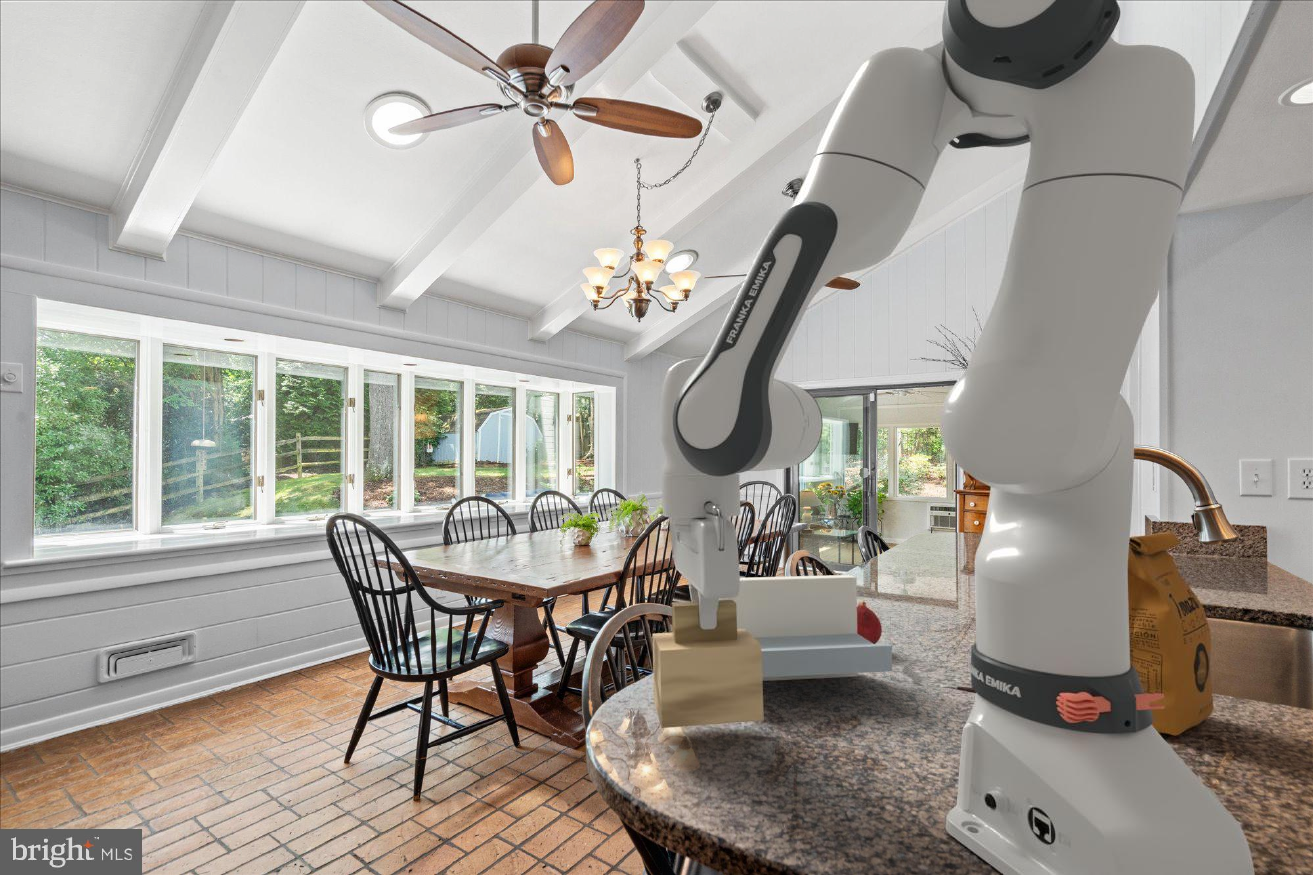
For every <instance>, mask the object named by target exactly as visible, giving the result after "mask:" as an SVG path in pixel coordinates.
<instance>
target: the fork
mask: <svg viewBox="0 0 1313 875" xmlns="http://www.w3.org/2000/svg"><path fill="white" fill-rule="evenodd" d="M902 672H903V674H905V675H906V676H908V677H909V678H910V679H911V680H913V681H914V682H916V683H917V684H918V685H920V686H922V687H927V685H928V683H929V680H927V679H925V678H923V677H922V676H920V675H919V674H917V672H914V671H913V670H912V669H910V668H909V667H908V666H907V665H904V668H902ZM939 687H940V688H941V689H942V688H946V689H949V688H950V689H955V690H959V691H964V692H969V693H974V694H976V692H975V691H974V689H973V688H972V687H968V686H959V685H958V686H957V685H947V684H939Z"/></svg>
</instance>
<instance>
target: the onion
mask: <svg viewBox="0 0 1313 875" xmlns="http://www.w3.org/2000/svg"><path fill="white" fill-rule="evenodd" d="M882 629H883V626H882V622H881V621H880V618H879V617H878V615H876V613H875V612H874V611H873V610H872V609H871V608H869V607H867V602H865V601H864V600H861V601H858V604H857V634H858V635H860V636H862V637H863V638H865V639H867V640H868V641H870V642H871V643H873V644H878V642H879V640H880V639H881V637H882V632H883V630H882Z"/></svg>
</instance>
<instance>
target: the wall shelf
mask: <svg viewBox="0 0 1313 875" xmlns="http://www.w3.org/2000/svg"><path fill="white" fill-rule="evenodd" d="M857 583H858V582H857V576H854V575H851V574H836V575H835V574H833V575H831V574H829V575H801V576H800V575H799V576H796V575H795V576H793V575H791V576H763V577H762V576H761V577H757V576H756V577H755V576H754V577H740V588H739V593H738V595H737V597H734V598H719V600H733V601H734V602H735V603H736V609H737V629H745V630H746V631H747V632H748V633H749V634H751V635H752V636H753V637H754V638H755V639H756V640H757V641H758V642H759V643H760V644H761V652H762V682H764V681H765V682H767V681H789V680H804V679H805V680H806V679H807V680H808V679H827V678H828V679H829V678H848V677H850V678H851V677H858V676H859V674H861V673H862V674H863V673H882V672H884V673H885V672H893V645H891V644H890V643H876V644H873V643H871V642H870V641H868V640H867V639H865V638H863V637H862V636H860V635H858V634H857V607H858V602H857V601H858V597H857V596H858V594H857V593H858V592H857V586H858V585H857ZM858 673H859V674H858Z"/></svg>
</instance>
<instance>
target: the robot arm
mask: <svg viewBox="0 0 1313 875" xmlns="http://www.w3.org/2000/svg"><path fill="white" fill-rule="evenodd" d="M1120 18H1121V8H1120V6H1119V3H1118V1H1117V0H945V3H944V9H943V15H942V24H941V34H942V40H941V41H940V42H939V43H936V44H935V45H933V46H930V47H926V48H923V49H918V48H914V47H910V46H909V47H908V46H907V47H906V46H905V47H904V46H902V47H898V46H897V47H891V48H887V49H883V50H881V51H878V52H877V53H875V54H873V55H871V56H870V57H868V58H867V59H866V60H864V62H863V63H862V64H861V65H860V67H859V68H858V69H857V70H856V73H855V74H854V76H853V77H852V80H850V82H849V84H848V85H847V87H846V89H845V91H844V92H843V94H842V96H841V98H840V100H839V102H838V103H837V105H836V107H835V109H834V110H833V113H832V115H831V117H830V118H829V119H830V120H829V121H828V124H827V126H826V128H825V130H824V133H823V135H822V137H821V139H820V141H819V144H818V147H817V148H816V151H815V153H814V156H813V159H812V161H811V163H810V167H809V169H808V171H807V173H806V176H805V179H804V181H803V182H802V185H801V187H800V188H799V191H798V192H797V195H796V196H795V198H794V200H793V201H792V203H791V205H790V206H789V208H788V209H787V210H786V211H785V212H783V214H781V216H780V217H779V218H778V219H777V221H776V222H775V223H774V224H773V226H772V228H771V229H770V231H769V232H768V234H767V235H766V237H765V239H764V241H763V243H762V245H761V246H760V248H759V250H758V252H757V254H756V256H755V258H754V260H753V262H752V264H751V265H750V268H749V270H748V272H747V274H746V276H745V278H744V280H743V283H742V285H741V287H740V289H739V291H738V293H737V295H736V297H735V299H734V301H733V303H732V305H731V308H730V309H729V311H728V314H727V316H726V318H725V320H724V322H723V324H722V326H721V327H720V330H719V332H718V334H717V336H716V338H715V340H714V342H713V344H712V346H711V348H710V349H709V351H708V353H707V354H705V355H695V356H690V357H688V358H685V359H684V358H683V359H682V360H680V361H678V362H676V363H675V364H673V365H672V366H671V367H669V368H668V369H667V372H666V374H665V377H664V381H663V383H662V390H661V398H660V438H661V443H662V446H663V450H664V462H663V466H662V470H661V492H662V493H661V496H662V497H661V498H662V500H661V501H662V504H661V505H662V516H663V517H665V518H668V519H669V531H670V532H669V533H670V540H671V549H672V550H671V552H672V558H673V562H674V566H675V570H676V571H678V572H679V574H681V575H682V576H683V577H684V578H685V579H686V580H687V581H688V588H689V595H690V599H691V600H690V602H694V601H699V610H698V623H699V625H700V627H701V628H702V629H714V628H715V627H716V625H717V615H716V612H717V608H718V603H719V598H734V597H737V595H738V593H739V588H740V578H741V577H740V562H739V561H740V560H739V549H738V538H737V532H736V527H735V525H734V523H733V522H732V521H731V520H730V518H731V517H737V516H740V515H741V491H740V490H741V482H740V474H741V473H746V472H761V471H771V470H783V469H784V470H785V469H788V468H791V467H793V466H797V465H799V464H802V463H803V462H805V461H806V460H807V459H808V458H810V457H811V456H812V454H813V453H814V452H815V451H816V449H817V447H818V446H819V443H820V441H821V437H822V433H823V425H824V424H823V415H822V411H821V408H820V406H819V403H818V402H817V401H816V399H815V398H814V396H813V395H812V394H811V393H810V392H809V391H807V390H806V389H804V388H802V387H801V386H799V385H797V384H794V383H791V382H788V381H785V380H780V379H776V378H775V374H776V372H777V370H778V368H779V366H780V364H781V362H782V360H783V358H784V356H785V354H786V351H787V349H788V347H789V346H790V343H791V341H792V339H793V337H794V335H795V333H796V331H797V329H798V327H799V325H800V323H801V321H802V320H803V317H804V315H805V313H806V311H807V309H808V308H809V305H810V304H811V302H812V301H813V300H814V297H815V296H816V295H817V293H819V291H820V290H821V289H822V288H823V287H825V286H826V285H827V284H828V283H830V282H831V281H833V280H835V279H837V278H838V277H841V276H843V275H846V274H849V273H853V272H858V271H862V270H865V269H868V268H871V267H873V266H876V265H878V264H879V263H880V262H883V261H884V260H886V259H887V258H888V257H889V256H891V255H892V253H893V252H894V251H895V249H896V248H897V247H898V244H900V242H901V240H902V239H903V237H904V236H905V234H906V233H907V230H908V229H909V228H910V225H911V224H912V223H913V222H912V221H913V219H914V218H915V215H916V213H917V212H918V209H919V206H920V205H921V202H922V199H923V196H924V194H925V192H926V190H927V187H928V185H929V182H930V180H931V177H932V175H933V172H934V170H935V167H936V165H937V163H938V161H939V159H940V157H941V155H942V153H943V152H944V150H945V149H946V147H947V146H948V144H949V145H950V146H951V147H953V148H954V149H962V150H965V149H973V148H974V149H975V148H980V147H981V148H982V147H983V148H984V147H986V148H987V147H988V148H989V147H990V148H991V147H992V148H1007V147H1008V148H1011V147H1017V146H1021V145H1024V144H1025V145H1026V144H1028V143H1030V145H1029V146H1030V148H1029V159H1028V163H1027V164H1028V165H1027V170H1026V174H1025V178H1024V182H1023V186H1022V190H1021V195H1020V201H1019V205H1018V208H1017V213H1016V217H1015V222H1014V226H1013V231H1012V235H1011V240H1010V243H1009V244H1010V245H1009V249H1008V253H1007V257H1006V262H1005V267H1004V271H1003V274H1002V279H1001V283H1000V286H999V289H998V291H997V295H996V297H995V299H994V302H993V305H992V308H991V310H990V313H989V315H988V317H987V319H986V322H985V323H984V326H983V328H982V331H981V333H980V335H979V338H978V340H977V342H976V345H975V348H974V349H973V352H972V353H971V354H972V355H971V357H970V359H969V362H968V365H967V367H966V369H965V370H964V373H963V375H962V376H961V377H960V378H959V379H958V380H957V381H956V382H955V384H954V385H953V386H952V387H951V388H950V390H949V391H948V393H947V395H946V397H945V399H944V401H943V404H942V407H941V411H940V417H939V418H940V419H939V427H940V428H939V429H940V435H941V436H940V437H941V440H942V442H943V445H944V447H945V450H946V451H947V453H948V454H949V457H950V458H951V459H952V461H954V463H955V464H956V465H957V466H958V467H960V469H962V470H963V471H964V473H967V474H968V475H970V476H971V477H972V478H974V479H975V480H977V481H978V482H981V483H983V484H985V485H986V486H989V487H990V491H989V498H988V503H987V509H986V516H985V521H984V525H983V530H982V535H981V539H980V541H979V544H978V547H977V549H976V551H975V556H974V596H975V597H974V600H975V601H974V603H975V605H974V606H975V607H974V608H975V643H974V644H972V645H971V649H970V650H971V651H970V658H969V671H970V684H971V685H970V686H971V688H973V689H974V691H975V692H976V693H975V697H974V698H975V699H974V701H973V704H972V708H971V711H970V714H969V716H968V718H967V720H966V722H965V723H964V726H963V728H962V735H961V745H960V746H961V747H960V755H959V756H960V759H959V771H958V783H957V785H958V786H957V797H956V799H957V800H956V805H955V806H954V807H953V808H952V809H950V811H949V812H948V813H947V815H946V817H945V820H946V822H945V830H946V831H947V833H948V834H949V835H950V836H952V837H953V838H955V839H956V841H958V842H960V843H961V844H962V845H963V846H965V847H967V848H968V849H969V851H971V852H973V853H974V854H976V855H977V856H978V857H980V858H981V859H982V860H984V861H985V862H986V863H988V864H989V865H990V866H992V867H993V868H994V869H996V870H997V871H998V872H1000V873H1001V874H1003V875H1255V870H1254V869H1255V868H1254V864H1253V863H1254V862H1253V858H1252V854H1251V850H1250V847H1249V843H1248V840H1247V837H1246V835H1245V833H1244V830H1243V828H1242V827H1241V824H1240V823H1239V821H1238V820H1237V819H1236V818H1235V817H1234V816H1233V814H1232V813H1230V811H1229V810H1228V809H1227V808H1226V807H1225V806H1224V805H1223V804H1222V802H1221V800H1220V798H1219V797H1218V795H1217V793H1216V792H1215V791H1214V790H1213V789H1212V788H1211V787H1209V786H1207V785H1205V784H1204V783H1203V782H1202V780H1200V778H1199V777H1198V776H1197V775H1196V774H1195V773H1194V772H1193V771H1192V769H1191V768H1190V767H1189V766H1188V764H1186V763H1185V761H1184V760H1183V759H1182V758H1181V757H1180V755H1179V754H1178V753H1177V752H1176V751H1175V750H1174V749H1173V748H1172V746H1171V745H1170V744H1169V743H1168V742H1167V741H1166V740H1165V739H1164V738H1163V737H1162V735H1161V733H1159V732H1157V731H1156V729H1155V728H1154V727H1153V725H1152V723H1153V721H1154V718H1153V715H1152V712H1151V710H1153V709H1164V708H1165V706H1162V705H1149V703H1150V702H1151V701H1157V700H1159V699H1162V698H1164V695H1163V694H1161V693H1155V694H1145V692H1144V689H1143V687H1142V684H1141V681H1140V679H1139V676H1138V674H1137V671H1136V669H1135V668H1134V666H1133V665H1132V664H1130V640H1129V606H1128V552H1129V540H1130V537H1131V527H1132V526H1131V523H1132V510H1133V508H1132V507H1133V492H1134V491H1133V490H1134V470H1135V469H1134V467H1135V466H1134V465H1135V464H1134V462H1135V460H1134V459H1135V421H1134V417H1133V412H1132V410H1131V407H1130V406H1129V403H1128V401H1127V400H1126V399H1125V397H1123V395H1122V394H1121V390H1122V387H1123V384H1124V381H1125V378H1126V376H1127V375H1126V374H1127V371H1128V370H1129V366H1130V363H1131V360H1132V358H1133V355H1134V352H1135V349H1136V347H1137V344H1138V341H1139V339H1140V336H1141V333H1142V331H1143V328H1144V325H1145V323H1146V321H1147V318H1148V316H1149V313H1150V311H1151V310H1152V307H1153V305H1154V303H1155V302H1156V300H1157V298H1158V295H1159V291H1160V287H1161V283H1162V278H1163V275H1164V271H1165V267H1166V262H1167V259H1168V256H1169V250H1170V246H1171V242H1172V238H1173V234H1174V230H1175V226H1176V222H1177V220H1178V214H1179V210H1180V206H1181V202H1182V197H1183V194H1184V192H1185V186H1186V181H1187V176H1188V172H1189V165H1190V160H1191V155H1192V147H1193V139H1194V129H1195V117H1196V116H1195V113H1196V112H1195V111H1196V79H1195V73H1194V70H1193V68H1192V65H1191V64H1190V63H1189V61H1188V60H1187V59H1186V57H1184V56H1183V55H1182V54H1180V53H1179V52H1178V51H1177V52H1176V51H1175V50H1173V49H1170V48H1168V47H1163V46H1158V45H1151V44H1132V45H1131V44H1130V45H1125V44H1120V43H1118V42H1116V41H1115V39H1114V38H1113V37H1112V34H1113V33H1114V31H1115V28H1117V25H1118V23H1119V21H1120ZM954 139H956V140H958V141H957V142H956V141H955V140H954Z"/></svg>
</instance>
